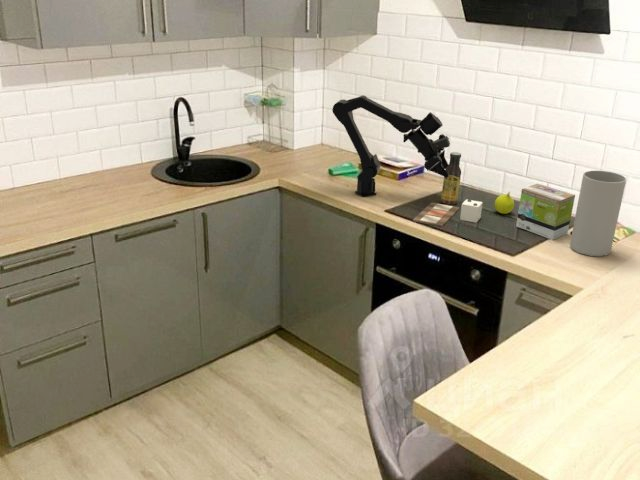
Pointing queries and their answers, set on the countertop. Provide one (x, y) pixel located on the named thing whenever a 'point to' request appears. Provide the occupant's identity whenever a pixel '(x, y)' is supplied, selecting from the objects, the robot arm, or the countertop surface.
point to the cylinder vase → (597, 212)
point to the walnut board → (436, 214)
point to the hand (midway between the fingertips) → (448, 173)
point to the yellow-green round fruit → (504, 204)
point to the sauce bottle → (452, 180)
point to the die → (471, 210)
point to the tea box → (545, 211)
